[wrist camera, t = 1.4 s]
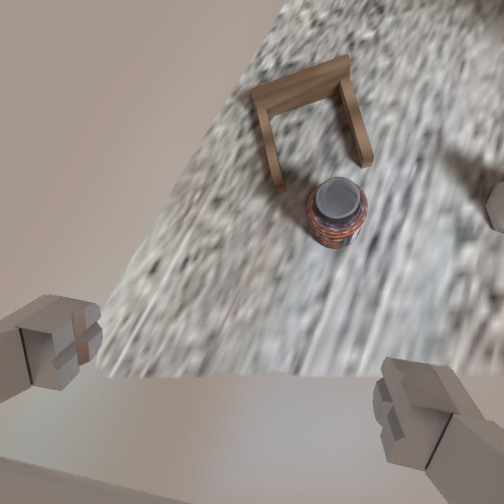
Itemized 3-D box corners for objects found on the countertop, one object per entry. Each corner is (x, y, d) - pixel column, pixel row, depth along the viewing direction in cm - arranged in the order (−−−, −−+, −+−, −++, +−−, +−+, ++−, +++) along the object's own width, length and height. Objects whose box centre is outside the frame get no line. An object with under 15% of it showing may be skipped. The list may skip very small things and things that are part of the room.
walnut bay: (371, 165, 38) (377, 145, 33) (277, 192, 41) (269, 178, 36) (346, 82, 41) (348, 53, 36) (259, 113, 44) (250, 89, 39)
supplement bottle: (304, 241, 39) (294, 217, 28) (320, 199, 39) (316, 159, 28) (351, 256, 37) (358, 237, 26) (366, 212, 37) (380, 174, 27)
